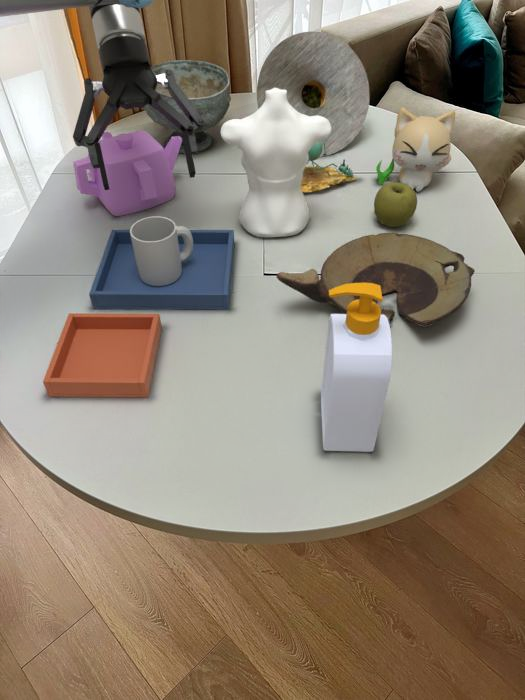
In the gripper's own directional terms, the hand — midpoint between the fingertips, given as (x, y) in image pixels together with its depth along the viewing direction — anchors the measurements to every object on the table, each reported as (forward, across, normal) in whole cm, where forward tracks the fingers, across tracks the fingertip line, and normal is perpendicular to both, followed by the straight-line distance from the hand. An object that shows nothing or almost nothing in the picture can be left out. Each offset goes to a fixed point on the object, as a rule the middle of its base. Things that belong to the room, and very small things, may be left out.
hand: (150, 181), depth 89 cm
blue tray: (+14, 0, -6) cm, 15 cm away
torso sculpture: (+8, -22, -13) cm, 26 cm away
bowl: (-18, -13, -39) cm, 45 cm away
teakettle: (-6, +2, -26) cm, 27 cm away
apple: (+12, -43, -9) cm, 45 cm away
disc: (-15, -40, -36) cm, 56 cm away
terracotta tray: (+26, +11, +6) cm, 29 cm away
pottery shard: (+24, -31, +4) cm, 40 cm away
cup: (+14, 0, -6) cm, 15 cm away
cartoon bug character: (-1, -34, -22) cm, 40 cm away
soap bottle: (+41, -17, +20) cm, 48 cm away
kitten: (+3, -53, -17) cm, 56 cm away
